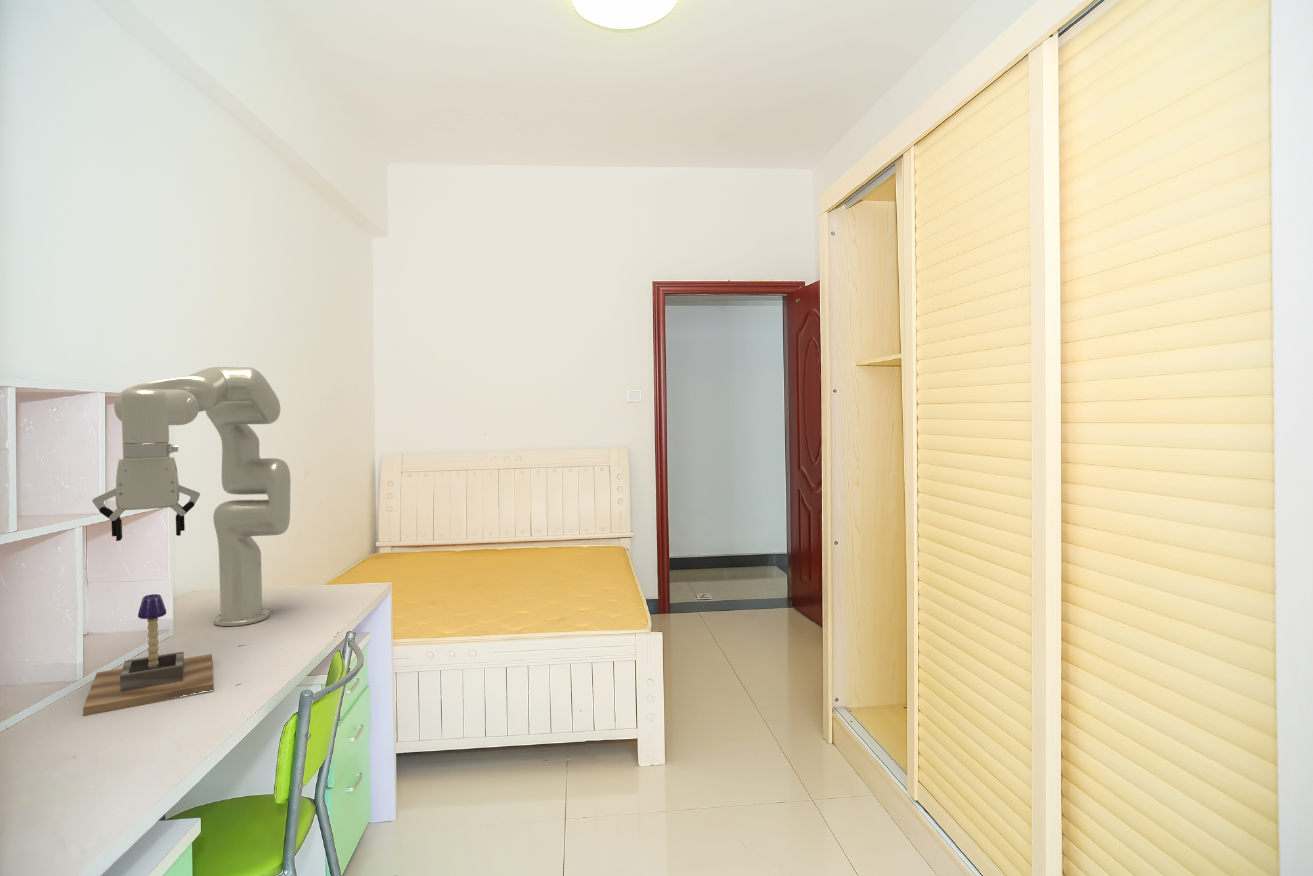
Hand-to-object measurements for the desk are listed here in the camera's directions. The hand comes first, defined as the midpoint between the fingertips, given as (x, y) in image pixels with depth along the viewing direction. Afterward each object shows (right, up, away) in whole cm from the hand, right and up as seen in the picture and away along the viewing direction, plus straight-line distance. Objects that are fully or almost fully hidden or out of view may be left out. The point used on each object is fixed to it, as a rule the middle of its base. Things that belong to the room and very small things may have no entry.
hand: (149, 537), depth 140 cm
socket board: (0, -30, +1) cm, 30 cm away
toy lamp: (0, -29, +2) cm, 29 cm away
